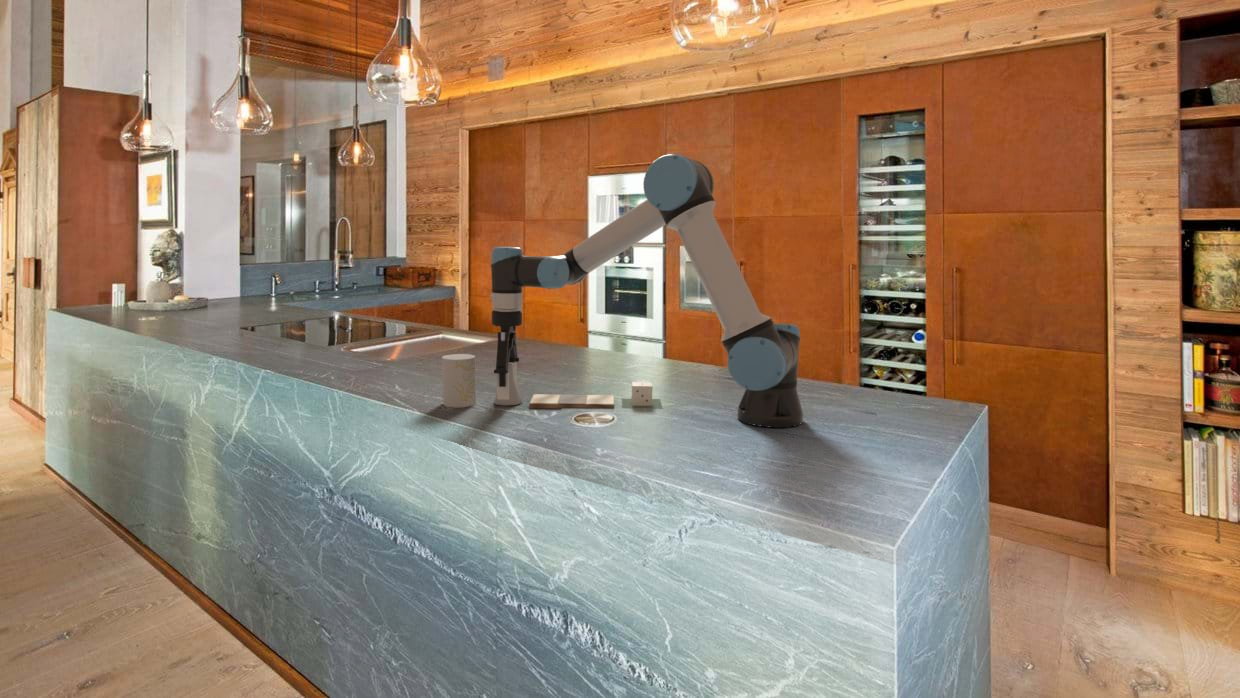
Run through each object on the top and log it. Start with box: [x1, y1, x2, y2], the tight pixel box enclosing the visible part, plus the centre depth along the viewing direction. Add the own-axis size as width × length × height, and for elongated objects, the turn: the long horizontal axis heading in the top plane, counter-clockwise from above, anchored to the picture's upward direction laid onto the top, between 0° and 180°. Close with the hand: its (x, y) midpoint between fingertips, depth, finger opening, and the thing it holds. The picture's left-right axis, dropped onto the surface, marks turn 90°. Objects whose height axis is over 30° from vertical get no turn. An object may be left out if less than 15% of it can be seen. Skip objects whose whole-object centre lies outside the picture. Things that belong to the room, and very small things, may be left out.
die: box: [630, 381, 653, 406], centre depth 177 cm, size 5×5×5 cm
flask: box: [493, 364, 523, 407], centre depth 176 cm, size 7×7×10 cm
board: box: [528, 393, 615, 409], centre depth 177 cm, size 21×10×1 cm, turn 91°
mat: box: [621, 398, 663, 409], centre depth 177 cm, size 10×10×1 cm
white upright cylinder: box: [441, 353, 477, 409], centre depth 175 cm, size 8×8×12 cm
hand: (507, 392), depth 177 cm, fingers open, 13 cm apart
